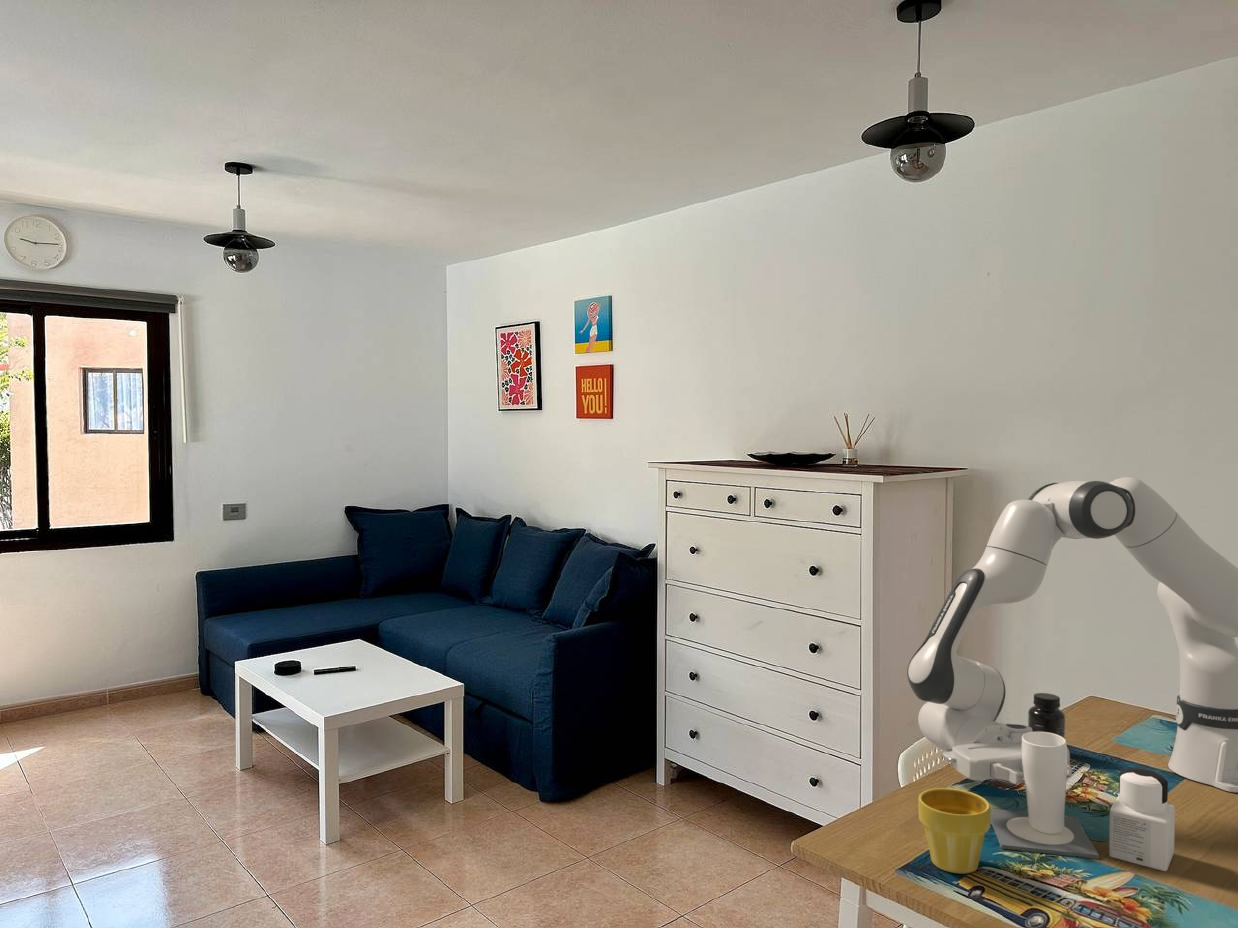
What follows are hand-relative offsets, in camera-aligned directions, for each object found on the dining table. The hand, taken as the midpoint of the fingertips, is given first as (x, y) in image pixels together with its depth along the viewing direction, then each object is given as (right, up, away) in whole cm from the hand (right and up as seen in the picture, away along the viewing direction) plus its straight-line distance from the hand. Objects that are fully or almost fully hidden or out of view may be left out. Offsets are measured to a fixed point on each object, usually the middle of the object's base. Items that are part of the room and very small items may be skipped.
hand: (1044, 775), depth 143 cm
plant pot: (-18, -10, -9) cm, 23 cm away
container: (+12, -10, -6) cm, 17 cm away
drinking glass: (+1, -9, +2) cm, 10 cm away
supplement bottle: (+18, -9, +37) cm, 43 cm away
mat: (0, -10, +1) cm, 10 cm away
